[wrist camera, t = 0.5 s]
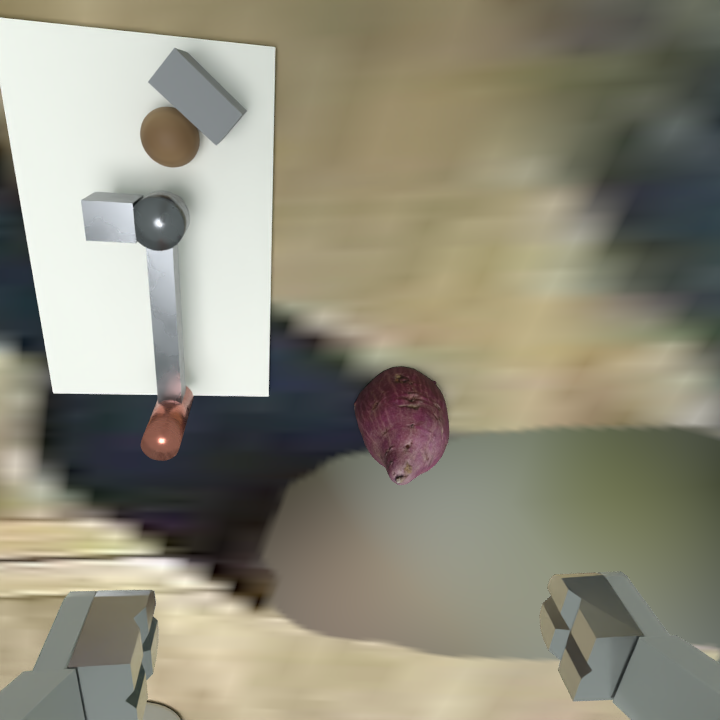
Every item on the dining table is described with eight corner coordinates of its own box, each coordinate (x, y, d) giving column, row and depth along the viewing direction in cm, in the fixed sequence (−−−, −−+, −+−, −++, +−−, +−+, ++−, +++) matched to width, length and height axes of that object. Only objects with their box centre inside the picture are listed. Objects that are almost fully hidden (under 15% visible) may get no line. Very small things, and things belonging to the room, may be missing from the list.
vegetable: (345, 418, 66) (316, 507, 53) (377, 347, 61) (354, 426, 48) (427, 451, 66) (418, 548, 53) (466, 384, 61) (467, 472, 48)
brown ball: (144, 103, 45) (131, 104, 41) (202, 108, 46) (194, 110, 42) (149, 161, 47) (136, 168, 43) (204, 165, 48) (196, 173, 44)
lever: (95, 185, 44) (58, 204, 37) (189, 191, 45) (172, 211, 38) (120, 409, 53) (95, 460, 45) (199, 410, 54) (186, 460, 47)
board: (-5, 18, 42) (-56, 6, 36) (275, 47, 46) (274, 41, 39) (57, 387, 56) (28, 426, 50) (268, 390, 59) (267, 428, 53)
